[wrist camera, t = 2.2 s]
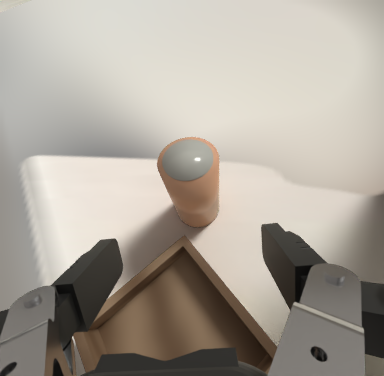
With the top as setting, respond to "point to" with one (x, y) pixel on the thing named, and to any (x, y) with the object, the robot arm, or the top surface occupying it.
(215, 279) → the walnut tray
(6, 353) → the robot arm
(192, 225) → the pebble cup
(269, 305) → the top surface
